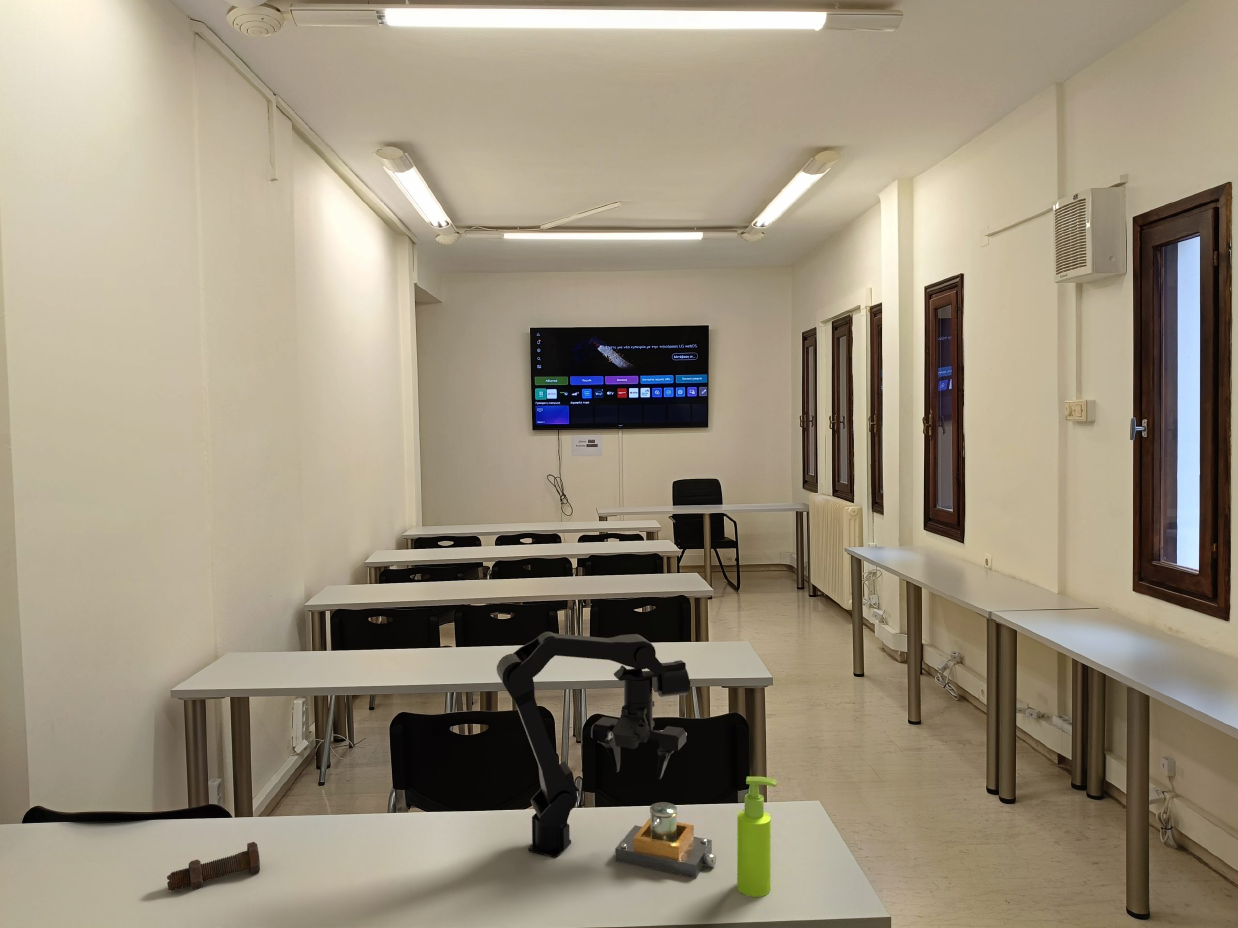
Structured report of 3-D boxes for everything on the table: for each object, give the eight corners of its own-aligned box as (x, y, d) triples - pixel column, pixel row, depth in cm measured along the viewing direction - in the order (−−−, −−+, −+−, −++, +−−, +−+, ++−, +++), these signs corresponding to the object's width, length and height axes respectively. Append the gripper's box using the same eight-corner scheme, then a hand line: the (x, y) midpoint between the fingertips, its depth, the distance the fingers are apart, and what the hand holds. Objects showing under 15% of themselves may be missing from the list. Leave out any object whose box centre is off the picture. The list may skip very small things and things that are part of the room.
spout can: (640, 854, 158) (640, 818, 158) (655, 835, 166) (655, 800, 166) (667, 860, 157) (667, 823, 156) (680, 840, 164) (680, 804, 164)
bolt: (168, 900, 152) (258, 874, 160) (169, 899, 148) (261, 872, 156) (165, 866, 154) (254, 842, 162) (166, 863, 150) (257, 839, 158)
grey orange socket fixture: (615, 860, 161) (615, 835, 161) (634, 837, 170) (634, 812, 170) (706, 880, 154) (706, 853, 154) (721, 854, 163) (721, 829, 163)
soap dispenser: (776, 899, 148) (776, 786, 147) (736, 894, 149) (736, 783, 148) (776, 881, 154) (777, 773, 153) (738, 877, 155) (738, 770, 154)
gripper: (579, 705, 167) (579, 783, 168) (668, 717, 160) (668, 798, 161) (602, 688, 177) (602, 762, 178) (687, 699, 170) (687, 776, 171)
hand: (638, 774), depth 172 cm, fingers open, 9 cm apart
